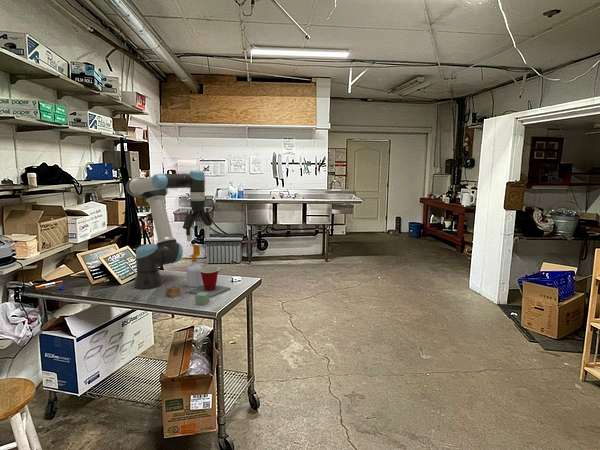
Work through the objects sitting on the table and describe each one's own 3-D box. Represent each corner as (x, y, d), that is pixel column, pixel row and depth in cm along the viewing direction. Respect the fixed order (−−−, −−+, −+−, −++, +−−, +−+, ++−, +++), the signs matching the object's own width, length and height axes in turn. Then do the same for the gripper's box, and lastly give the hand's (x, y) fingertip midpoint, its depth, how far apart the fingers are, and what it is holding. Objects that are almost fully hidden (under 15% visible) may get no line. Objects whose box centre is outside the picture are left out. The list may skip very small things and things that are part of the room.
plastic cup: (197, 292, 200) (196, 270, 199) (203, 286, 211) (202, 265, 209) (216, 292, 200) (216, 271, 198) (222, 286, 210) (221, 266, 209)
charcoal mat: (188, 292, 202) (188, 291, 202) (209, 285, 216) (209, 283, 216) (210, 297, 195) (210, 296, 194) (230, 289, 208) (230, 287, 208)
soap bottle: (184, 286, 213) (182, 244, 210) (192, 282, 222) (191, 241, 218) (197, 288, 210) (196, 245, 207) (206, 283, 219) (204, 242, 216)
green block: (195, 304, 185) (195, 294, 184) (200, 301, 190) (200, 291, 189) (204, 305, 184) (204, 295, 183) (209, 302, 188) (209, 292, 188)
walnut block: (166, 296, 196) (165, 287, 195) (173, 294, 200) (173, 285, 200) (172, 298, 193) (172, 289, 193) (180, 295, 198) (179, 286, 197)
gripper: (185, 202, 184) (187, 244, 187) (218, 198, 206) (218, 236, 209) (174, 201, 187) (176, 242, 190) (208, 198, 209) (208, 235, 212)
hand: (198, 239), depth 200 cm, fingers open, 13 cm apart
